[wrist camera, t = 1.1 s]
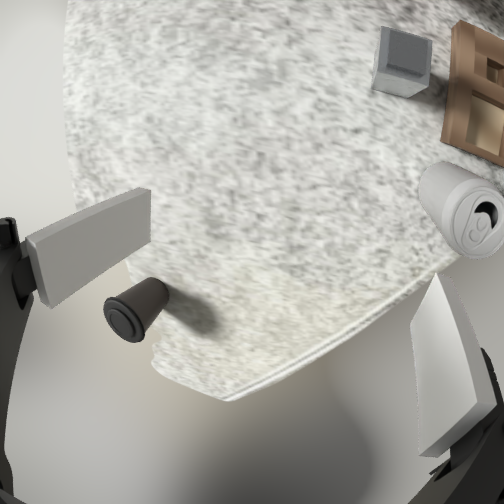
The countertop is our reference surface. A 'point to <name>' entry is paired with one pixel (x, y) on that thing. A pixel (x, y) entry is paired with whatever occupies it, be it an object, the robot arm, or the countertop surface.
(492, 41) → the socket block
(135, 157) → the countertop surface
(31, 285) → the robot arm
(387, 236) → the countertop surface
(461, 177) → the beverage can
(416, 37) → the grey square peg
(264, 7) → the countertop surface
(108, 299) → the coffee cup
